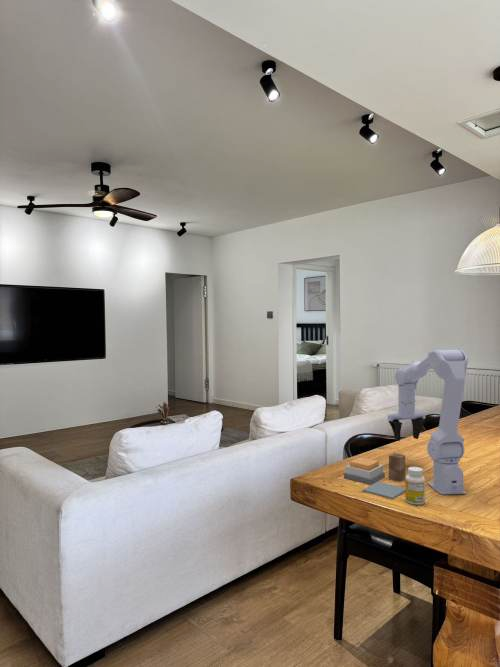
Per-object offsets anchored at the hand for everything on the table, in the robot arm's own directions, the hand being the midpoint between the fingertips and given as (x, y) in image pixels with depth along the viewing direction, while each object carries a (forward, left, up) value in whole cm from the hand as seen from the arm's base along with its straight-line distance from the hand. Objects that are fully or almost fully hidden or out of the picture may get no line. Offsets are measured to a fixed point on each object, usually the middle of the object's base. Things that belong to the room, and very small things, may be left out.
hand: (406, 439), depth 170 cm
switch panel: (-10, +19, -10) cm, 24 cm away
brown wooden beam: (-13, +9, -10) cm, 18 cm away
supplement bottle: (-32, +11, -10) cm, 36 cm away
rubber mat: (-23, +16, -10) cm, 30 cm away
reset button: (-10, +19, -6) cm, 23 cm away
